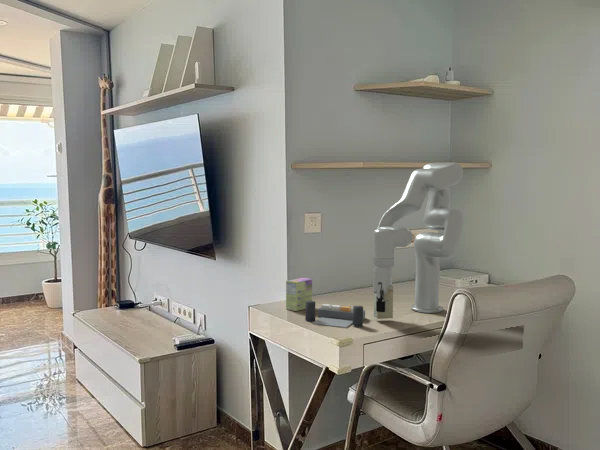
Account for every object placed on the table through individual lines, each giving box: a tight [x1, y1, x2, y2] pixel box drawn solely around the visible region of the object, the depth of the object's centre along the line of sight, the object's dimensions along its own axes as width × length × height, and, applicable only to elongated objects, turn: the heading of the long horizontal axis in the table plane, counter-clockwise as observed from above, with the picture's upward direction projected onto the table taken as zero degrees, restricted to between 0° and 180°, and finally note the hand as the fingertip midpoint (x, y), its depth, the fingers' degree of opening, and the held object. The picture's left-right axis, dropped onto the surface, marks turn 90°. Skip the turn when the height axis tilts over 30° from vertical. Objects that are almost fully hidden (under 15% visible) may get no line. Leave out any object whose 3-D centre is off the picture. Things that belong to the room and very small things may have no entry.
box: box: [285, 277, 313, 312], centre depth 226 cm, size 10×6×12 cm, turn 141°
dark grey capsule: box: [352, 305, 364, 328], centre depth 200 cm, size 4×4×7 cm
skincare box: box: [373, 284, 394, 320], centre depth 207 cm, size 6×4×12 cm
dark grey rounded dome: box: [305, 300, 316, 323], centre depth 207 cm, size 4×4×7 cm
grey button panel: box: [312, 303, 366, 329], centre depth 207 cm, size 16×17×4 cm
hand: (383, 308), depth 207 cm, fingers closed on skincare box, 6 cm apart
